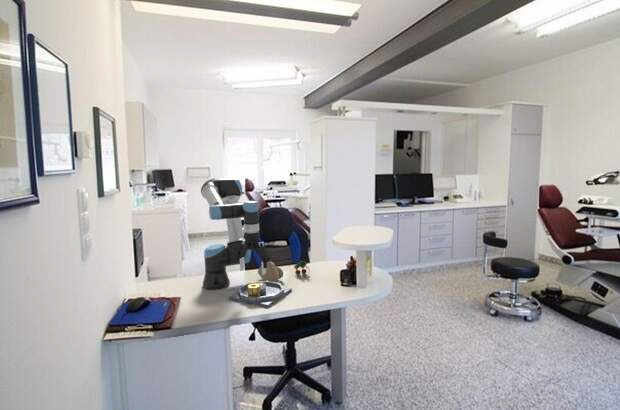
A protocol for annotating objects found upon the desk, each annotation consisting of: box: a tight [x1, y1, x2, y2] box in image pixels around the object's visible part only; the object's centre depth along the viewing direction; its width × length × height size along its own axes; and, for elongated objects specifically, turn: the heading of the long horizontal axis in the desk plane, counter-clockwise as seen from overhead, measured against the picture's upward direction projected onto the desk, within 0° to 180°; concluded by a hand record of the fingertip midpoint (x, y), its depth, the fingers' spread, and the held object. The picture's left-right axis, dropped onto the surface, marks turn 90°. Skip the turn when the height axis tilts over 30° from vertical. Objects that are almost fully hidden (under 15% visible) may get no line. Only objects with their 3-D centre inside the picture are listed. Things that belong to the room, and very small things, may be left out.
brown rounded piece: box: [257, 261, 284, 283], centre depth 202 cm, size 13×8×15 cm
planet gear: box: [248, 284, 260, 297], centre depth 173 cm, size 6×6×6 cm
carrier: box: [228, 280, 293, 308], centre depth 179 cm, size 24×24×6 cm
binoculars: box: [293, 260, 311, 278], centre depth 209 cm, size 9×9×10 cm
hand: (253, 272), depth 172 cm, fingers open, 13 cm apart
